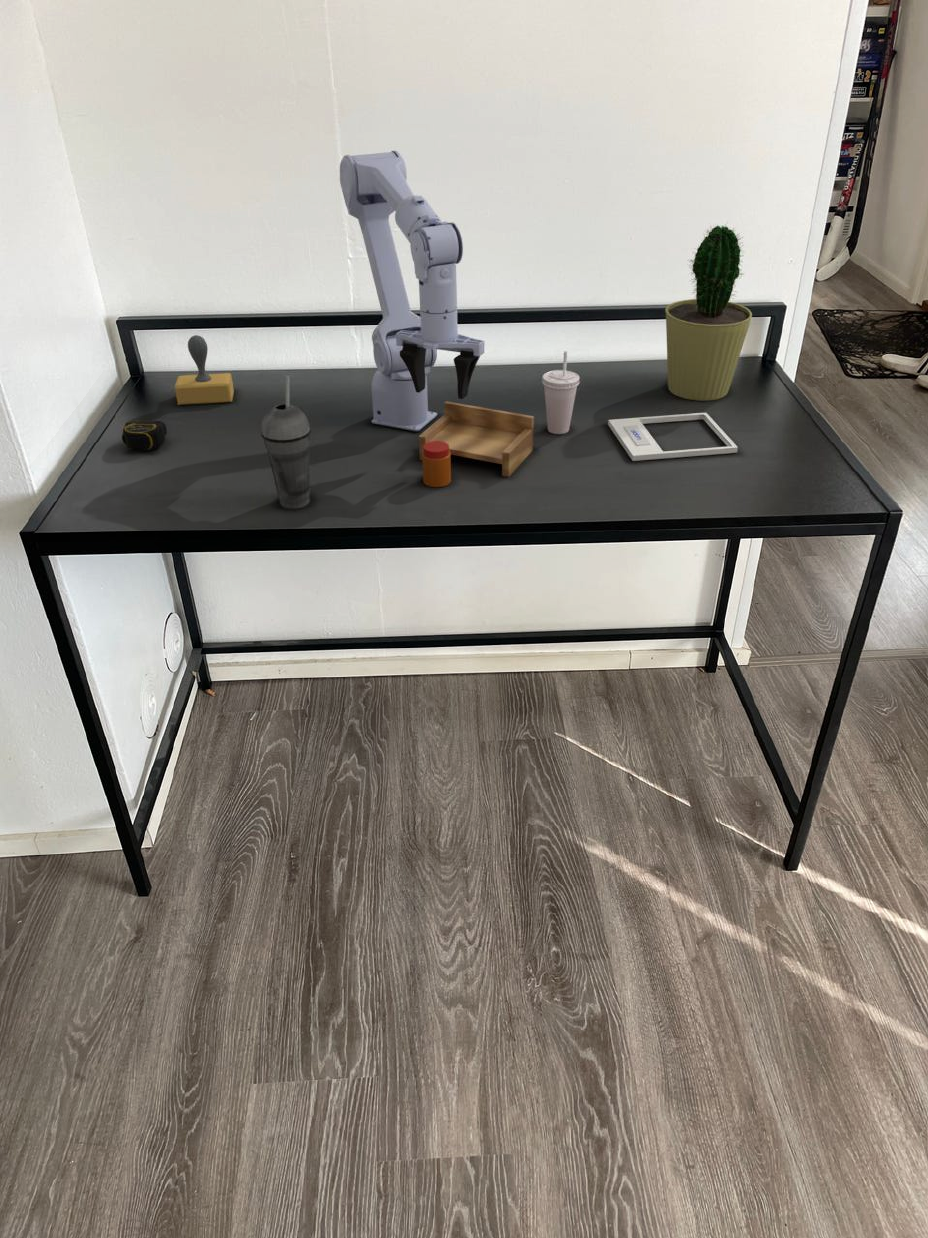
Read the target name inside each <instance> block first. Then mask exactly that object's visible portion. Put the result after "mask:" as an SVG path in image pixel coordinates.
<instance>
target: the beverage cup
mask: <svg viewBox="0 0 928 1238" xmlns="http://www.w3.org/2000/svg"><path fill="white" fill-rule="evenodd" d="M311 433H312V430H311V427H310V423H309V420H308V417H307V416H306V415H305V413H304V412H303V411H302V410H301V409H300V408H299V407H297V406H295V405H293V404H290V375H285V403H279V404H277V405H274V406H272V407H271V408H269V410H267V412H266V413H265V415H264V417H263V418H262V422H261V431H260V436H261V438H262V440H263V443H264V447H265V449H266V450H267V455H268V458H269V463H270V468H271V472H272V476H273V480H274V484H275V489H276V494H277V496H278V500H279V504H280V505H281V507H283V508H285V509H290V510H291V509H292V510H294V509H301V508H304V507H305V506H307V505H308V504H310V501H311V500H310V498H311V497H310V495H311V494H310V492H311V478H310V477H311V474H310V473H311V472H310V470H311V469H310V443H311Z"/></svg>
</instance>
